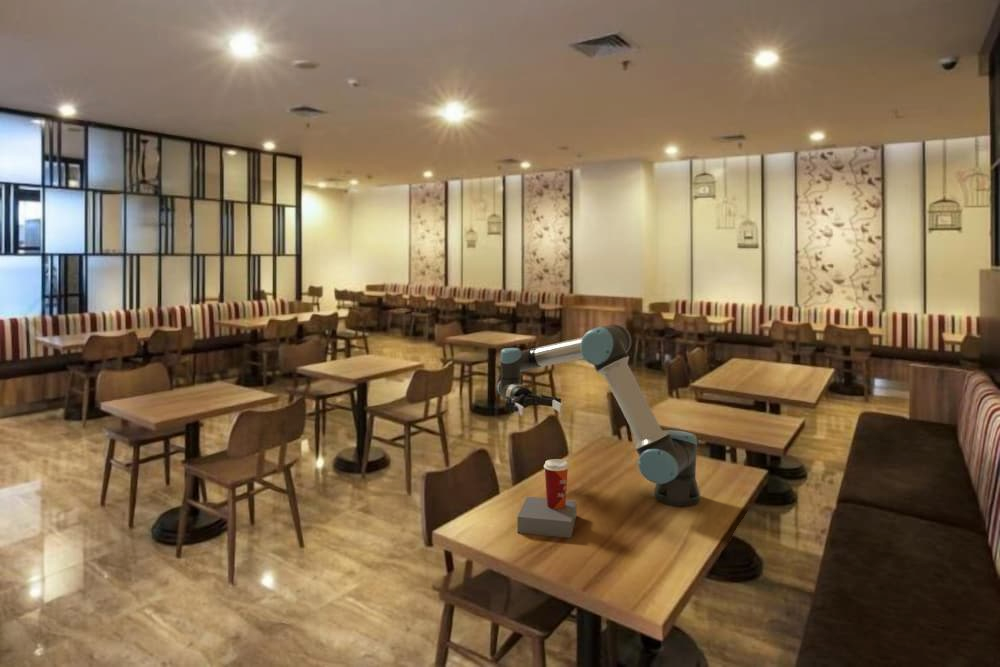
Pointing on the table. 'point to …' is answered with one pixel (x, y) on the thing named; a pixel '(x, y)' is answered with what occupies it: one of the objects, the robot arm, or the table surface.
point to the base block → (546, 518)
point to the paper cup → (556, 482)
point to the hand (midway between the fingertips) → (542, 410)
